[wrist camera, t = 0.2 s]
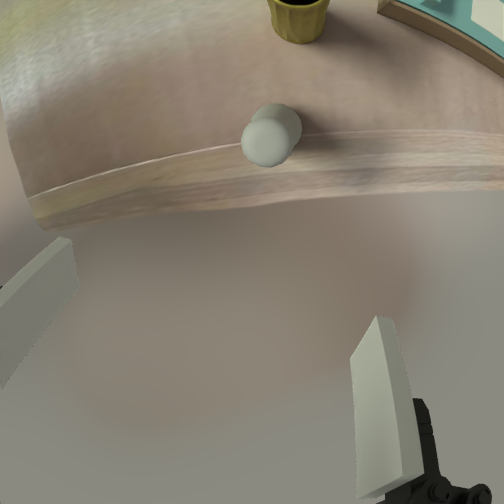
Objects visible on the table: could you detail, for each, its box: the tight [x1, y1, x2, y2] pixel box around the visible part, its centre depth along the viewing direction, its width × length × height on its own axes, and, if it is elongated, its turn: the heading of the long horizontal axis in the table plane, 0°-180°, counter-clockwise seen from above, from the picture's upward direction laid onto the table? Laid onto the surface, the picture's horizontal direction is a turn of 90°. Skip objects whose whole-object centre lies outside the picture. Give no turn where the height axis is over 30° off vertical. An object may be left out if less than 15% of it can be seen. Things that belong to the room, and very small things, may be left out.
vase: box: [267, 0, 330, 44], centre depth 20 cm, size 6×6×14 cm
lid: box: [396, 0, 504, 60], centre depth 15 cm, size 10×19×4 cm, turn 80°
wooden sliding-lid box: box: [377, 0, 504, 78], centre depth 18 cm, size 12×20×5 cm, turn 80°
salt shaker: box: [241, 104, 302, 167], centre depth 28 cm, size 6×6×13 cm
